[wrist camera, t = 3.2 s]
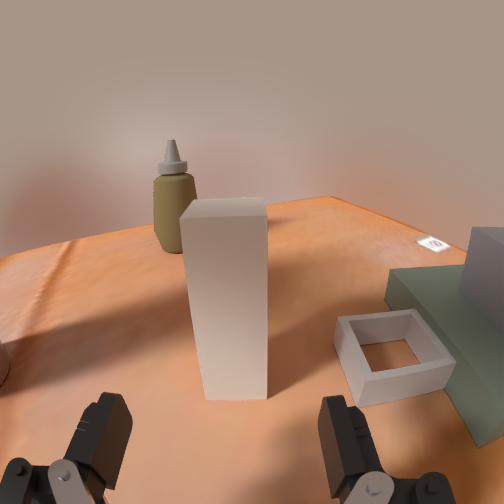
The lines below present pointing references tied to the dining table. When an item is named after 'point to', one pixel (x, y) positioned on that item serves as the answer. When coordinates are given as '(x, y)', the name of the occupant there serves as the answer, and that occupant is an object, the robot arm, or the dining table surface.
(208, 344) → the tall white pillar block
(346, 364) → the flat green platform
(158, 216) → the squeeze bottle
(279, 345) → the dining table surface
